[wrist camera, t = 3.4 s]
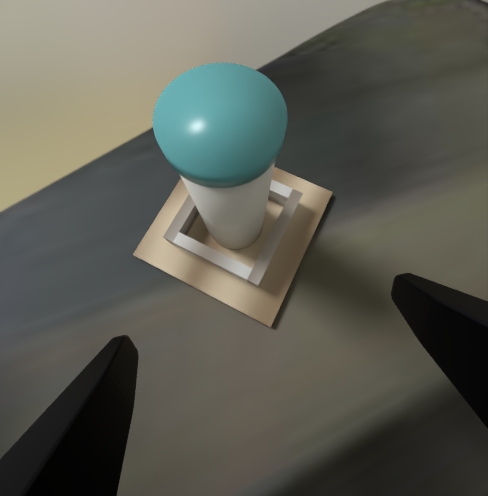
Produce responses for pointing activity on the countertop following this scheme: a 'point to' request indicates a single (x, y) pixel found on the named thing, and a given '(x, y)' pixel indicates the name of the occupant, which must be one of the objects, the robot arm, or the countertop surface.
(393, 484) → the countertop surface
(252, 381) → the countertop surface
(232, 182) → the white tall cylindrical piece
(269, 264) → the housing
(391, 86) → the countertop surface
